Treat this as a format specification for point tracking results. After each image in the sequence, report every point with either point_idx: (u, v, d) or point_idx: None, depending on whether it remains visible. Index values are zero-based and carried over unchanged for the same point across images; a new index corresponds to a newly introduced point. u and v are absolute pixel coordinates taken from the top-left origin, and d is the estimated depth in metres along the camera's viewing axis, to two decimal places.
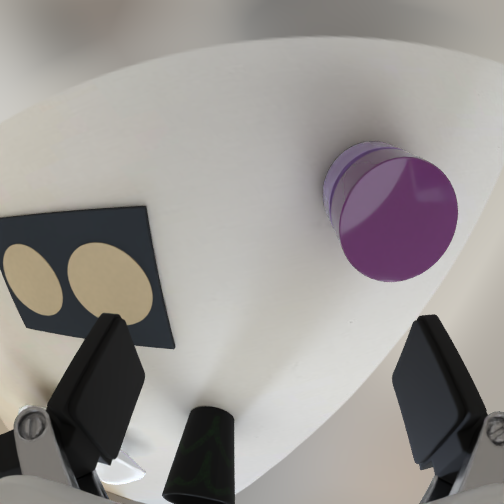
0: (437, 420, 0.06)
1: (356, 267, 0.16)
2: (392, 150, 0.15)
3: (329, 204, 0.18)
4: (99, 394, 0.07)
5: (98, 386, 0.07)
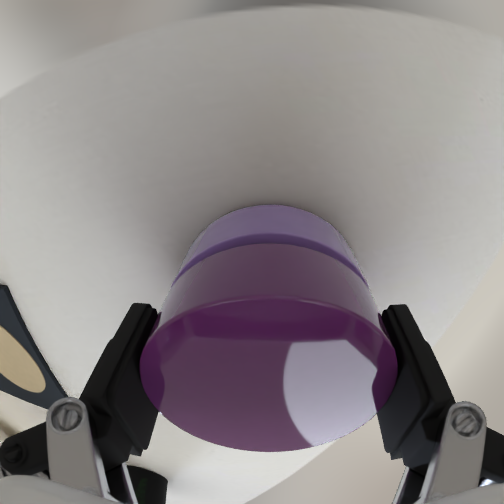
0: (403, 408, 0.06)
1: (197, 436, 0.09)
2: (252, 254, 0.08)
3: None
4: (134, 383, 0.07)
5: (133, 374, 0.07)
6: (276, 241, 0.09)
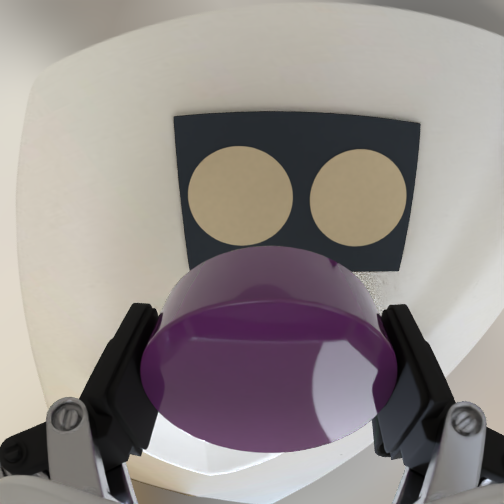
0: (403, 408, 0.06)
1: (198, 437, 0.09)
2: (252, 256, 0.08)
3: None
4: (134, 383, 0.07)
5: (134, 374, 0.07)
6: None
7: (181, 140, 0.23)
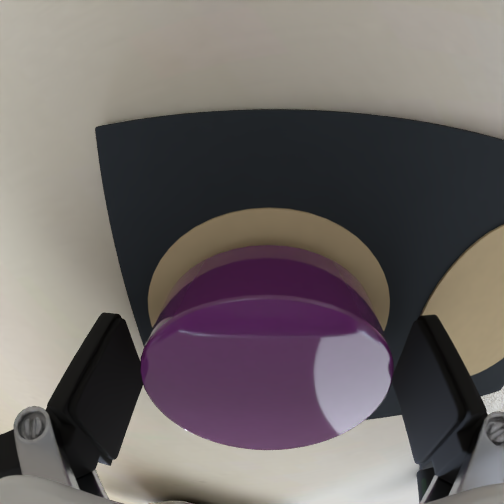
0: (437, 420, 0.06)
1: (197, 434, 0.09)
2: (250, 255, 0.08)
3: None
4: (99, 394, 0.07)
5: (98, 386, 0.07)
6: None
7: (117, 190, 0.08)
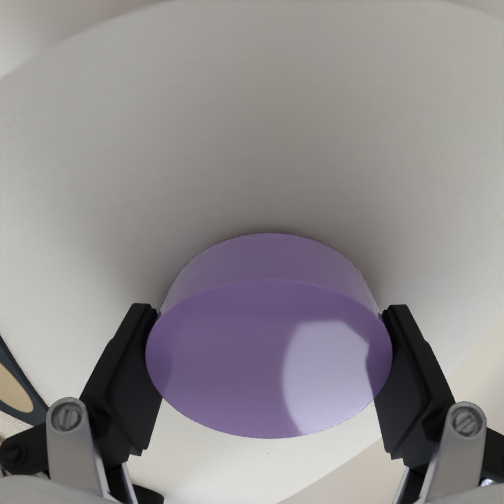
0: (403, 408, 0.06)
1: None
2: None
3: (151, 376, 0.09)
4: (134, 383, 0.07)
5: (133, 374, 0.07)
6: (278, 290, 0.07)
7: None
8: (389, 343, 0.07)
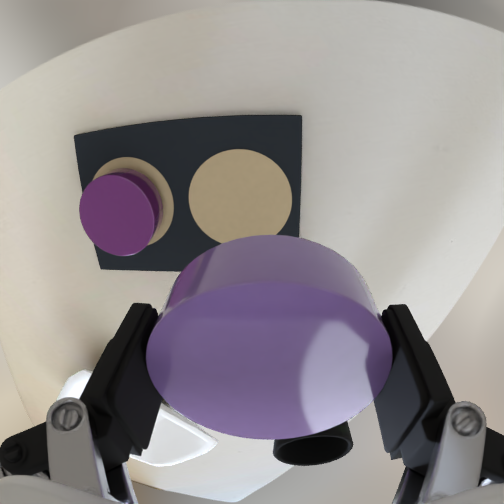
0: (403, 408, 0.07)
1: (97, 245, 0.25)
2: (112, 170, 0.23)
3: (151, 377, 0.09)
4: (134, 383, 0.07)
5: (134, 374, 0.07)
6: (278, 292, 0.07)
7: (80, 155, 0.24)
8: (389, 345, 0.07)
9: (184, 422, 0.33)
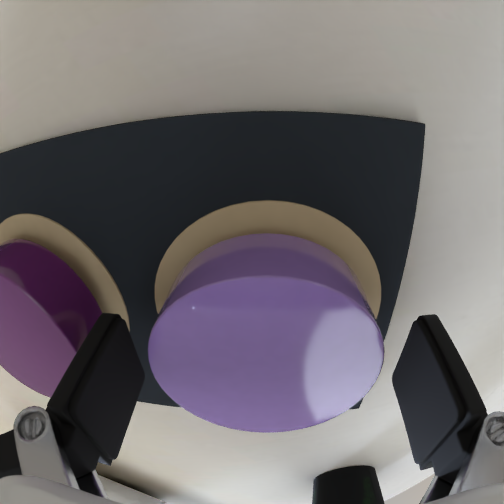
0: (437, 420, 0.06)
1: (10, 373, 0.11)
2: (1, 245, 0.09)
3: (153, 370, 0.09)
4: (99, 394, 0.07)
5: (98, 386, 0.07)
6: (273, 286, 0.07)
7: None
8: (380, 338, 0.08)
9: None
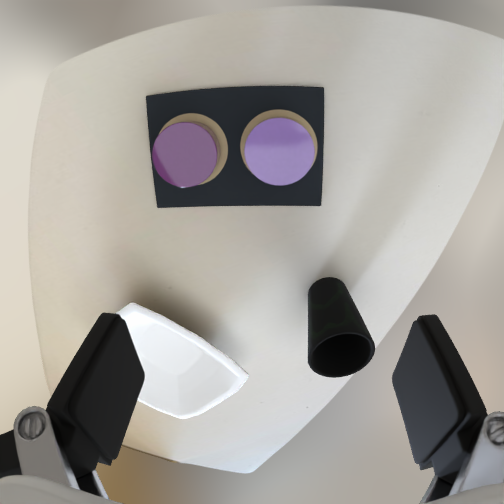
0: (437, 420, 0.06)
1: (165, 179, 0.32)
2: None
3: (244, 153, 0.31)
4: (99, 394, 0.07)
5: (98, 386, 0.07)
6: (281, 120, 0.29)
7: (151, 111, 0.31)
8: (311, 138, 0.29)
9: (220, 352, 0.41)
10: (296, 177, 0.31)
